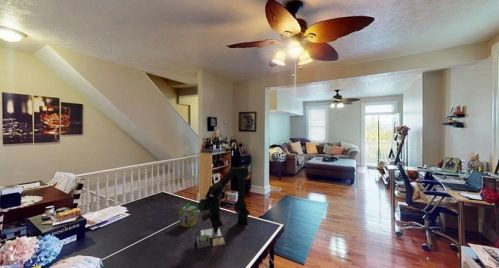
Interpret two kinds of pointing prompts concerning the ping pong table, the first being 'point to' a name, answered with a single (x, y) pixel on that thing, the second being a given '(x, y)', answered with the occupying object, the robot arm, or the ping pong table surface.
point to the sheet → (210, 233)
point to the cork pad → (218, 241)
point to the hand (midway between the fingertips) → (215, 231)
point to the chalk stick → (214, 232)
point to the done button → (203, 238)
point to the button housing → (203, 244)
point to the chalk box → (188, 215)
